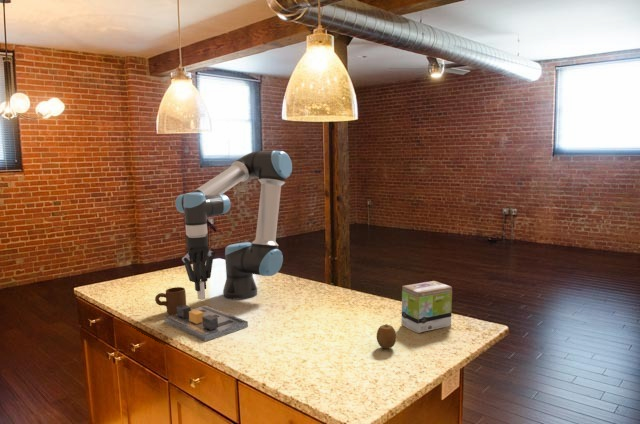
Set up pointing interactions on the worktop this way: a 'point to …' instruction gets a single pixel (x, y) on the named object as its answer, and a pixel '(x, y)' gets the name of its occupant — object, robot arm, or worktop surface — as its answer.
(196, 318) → the tall orange block
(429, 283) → the tea box
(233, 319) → the panel
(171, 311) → the mug
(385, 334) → the fruit
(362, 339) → the worktop surface
